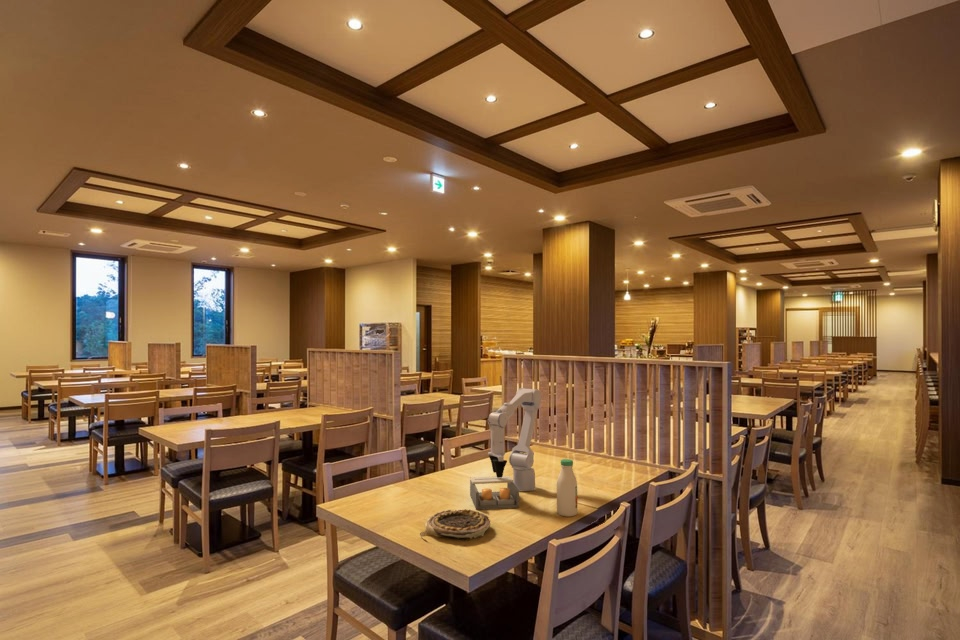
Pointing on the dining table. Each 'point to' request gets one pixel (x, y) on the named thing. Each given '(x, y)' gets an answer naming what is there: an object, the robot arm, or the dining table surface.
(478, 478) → the lid
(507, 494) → the orange rounded block
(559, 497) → the milk bottle
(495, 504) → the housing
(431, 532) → the pie
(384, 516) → the dining table surface
